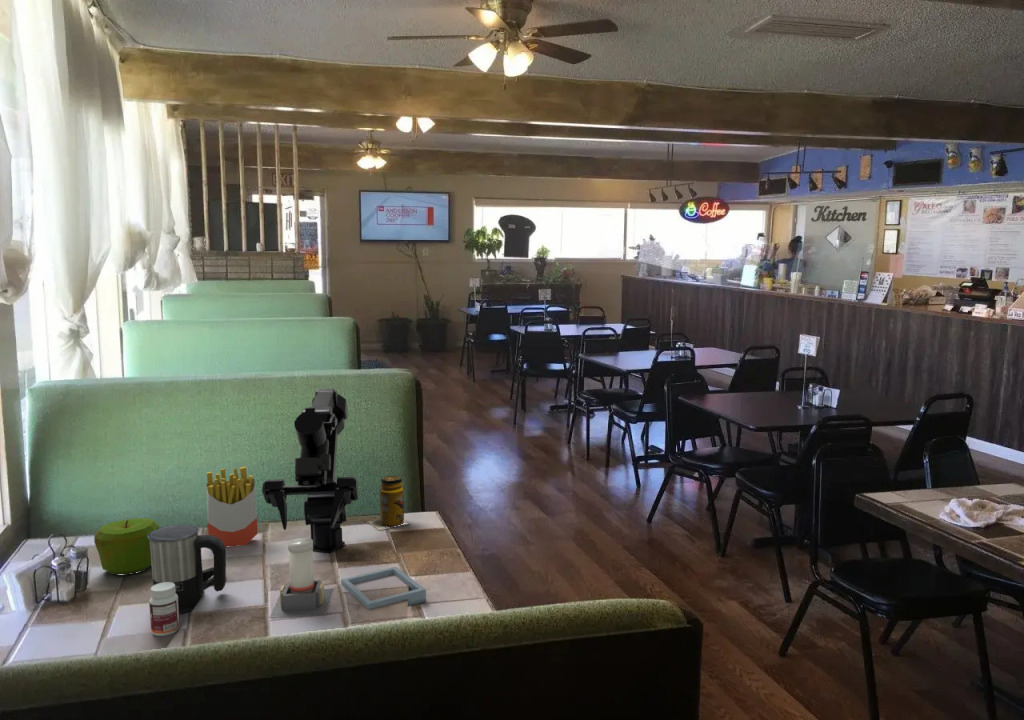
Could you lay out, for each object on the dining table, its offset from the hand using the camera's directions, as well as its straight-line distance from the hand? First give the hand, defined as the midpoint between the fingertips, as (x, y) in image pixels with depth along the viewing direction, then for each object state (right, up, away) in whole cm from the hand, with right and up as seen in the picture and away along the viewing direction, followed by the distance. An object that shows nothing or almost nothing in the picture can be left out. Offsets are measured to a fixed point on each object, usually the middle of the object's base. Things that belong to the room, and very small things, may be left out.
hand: (308, 528), depth 154 cm
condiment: (+9, -9, +44) cm, 45 cm away
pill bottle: (-22, -16, -14) cm, 31 cm away
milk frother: (-24, -14, 0) cm, 27 cm away
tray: (+15, -14, 0) cm, 20 cm away
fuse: (+1, -13, -7) cm, 14 cm away
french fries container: (-26, -10, +30) cm, 41 cm away
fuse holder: (+1, -14, -6) cm, 16 cm away
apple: (-43, -12, +14) cm, 47 cm away
